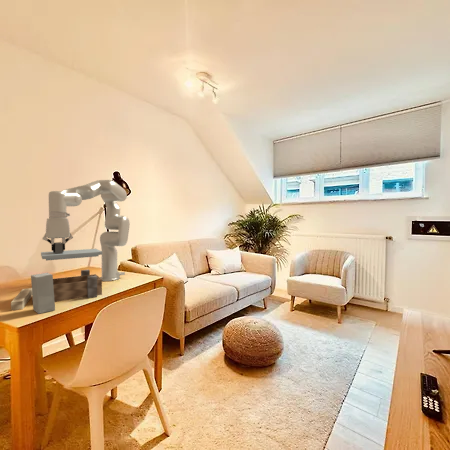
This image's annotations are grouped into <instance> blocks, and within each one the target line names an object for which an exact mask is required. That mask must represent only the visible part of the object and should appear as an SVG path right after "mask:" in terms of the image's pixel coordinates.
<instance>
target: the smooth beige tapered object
mask: <svg viewBox="0 0 450 450" xmlns="http://www.w3.org/2000/svg"><path fill="white" fill-rule="evenodd" d="M31 298H32V287H29V288H22V289H21V291H20V292H18V294H16V295H15V297H14V299H12V301H11V302H10V311H11V310H13V311H18V310H19V309H21V310H23V309H24V308H25V307H26V305H27V303H28V302H29V301H30V299H31ZM19 311H20V310H19Z"/></svg>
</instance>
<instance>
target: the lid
mask: <svg viewBox="0 0 450 450" xmlns="http://www.w3.org/2000/svg"><path fill="white" fill-rule="evenodd" d="M54 243H55V252H53V251H52V250H51V251H41V252H40V257H41V259H42V260H45V261H57V260H71V259H82V258H93V257H95V258H96V257H99V256H102V250H101V249H97V248H85V249H72V250H69V249H68V250H64V252H63V244H62V242H61V241H60V242H54Z"/></svg>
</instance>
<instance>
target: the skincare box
mask: <svg viewBox="0 0 450 450" xmlns="http://www.w3.org/2000/svg"><path fill="white" fill-rule="evenodd" d="M30 279H31V280H30V283H31V284H30V285H31V288H32V296H31V298H32V309H33V311H35V312H36V313H37V314H43V313H48V312H52V311H55V310H56V304H55V301H54V288H53V279H54V277H53V274H52V273H49V272H42V273H38V274H37V273H36V274H31V275H30Z"/></svg>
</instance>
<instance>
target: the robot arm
mask: <svg viewBox="0 0 450 450" xmlns="http://www.w3.org/2000/svg"><path fill="white" fill-rule="evenodd" d="M97 196H100V197H101V199H102V201H103V203H104V204H105V206H106V214H105V221H104V228H105V229H107V230H110V231H104V232H102V233H101V234H100V236H99V242H100V247H101V248H100V251H102V255H101V276H99V277H100V278H101V279H102V282H111V281H112V280H113V281H118V280H119V279H120V278H121V277H120V276H125V275H126V272H125V271H121V272H119V271H118V250H117V248H116V247H124V246H126V245H127V243H128V239H129V232H130V223H131V222H130V219H129V218H128V216H126V215H121V208H120V205H119V204H118V203H117V202H124V201H126V199H127V198H128V193H127V191H126V190H125V188H123V187H122V186H121V185H120V184H118V183H117V182H116V181H114V180H112V179H97V180H95V181H92V182H89V183H86V184H84V185H79V186H74V187H71V188H66V189H63V190H59V191H58V190H51V191H49V192H48V218H46V223H45V234H44V235H43V237H42V240H43V241H46V242H48V243H49V244H50V245H51V252H52V251H53V252H55V243H56V242H55V239H61V240H62V242H61V243H62V244H63V252H64V251H66V243H68V242H69V241H70V240H72V239H74V236H73V235H72V233H71V230H70V221H69V218H67V217H70V216H71V215H70V213H68V212H67V207H78V206H80V205H81V204H82V202H83V201H86V200H91V199H94V198H95V197H97ZM112 230H113V231H112Z"/></svg>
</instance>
